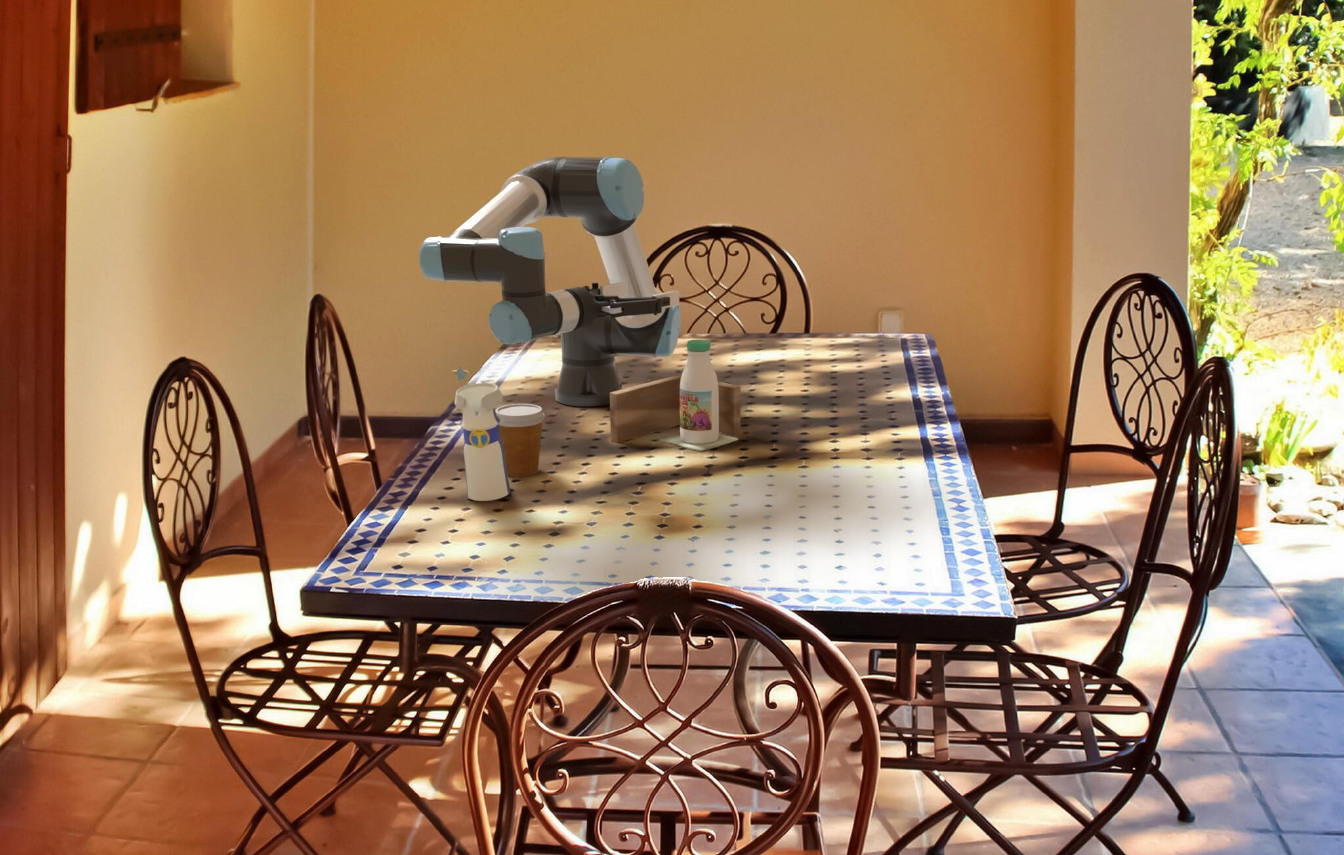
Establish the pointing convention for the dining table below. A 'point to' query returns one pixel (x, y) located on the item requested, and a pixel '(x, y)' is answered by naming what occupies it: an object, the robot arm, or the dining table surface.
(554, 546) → the dining table surface
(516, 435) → the disposable coffee cup
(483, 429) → the white tall bottle shape
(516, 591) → the dining table surface
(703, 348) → the milk bottle
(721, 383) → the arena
